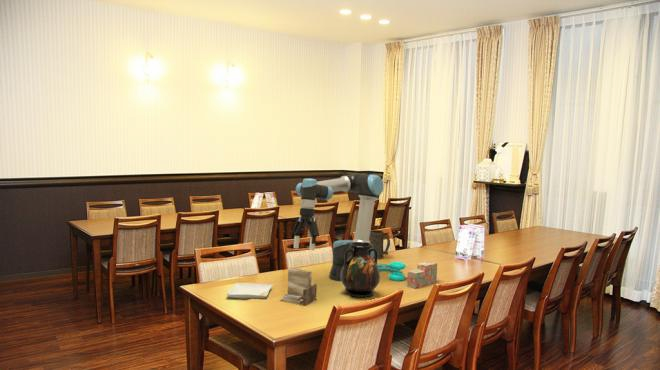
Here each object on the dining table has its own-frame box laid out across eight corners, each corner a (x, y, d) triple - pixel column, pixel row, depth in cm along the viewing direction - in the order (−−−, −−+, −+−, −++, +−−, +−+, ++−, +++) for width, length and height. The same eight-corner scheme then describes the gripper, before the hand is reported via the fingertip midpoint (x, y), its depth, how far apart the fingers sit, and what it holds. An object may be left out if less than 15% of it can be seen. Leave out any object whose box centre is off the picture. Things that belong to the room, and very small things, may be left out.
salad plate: (235, 288, 275) (235, 282, 275) (273, 289, 275) (273, 283, 274) (225, 300, 254) (225, 293, 254) (266, 302, 253) (267, 295, 253)
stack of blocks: (415, 289, 284) (416, 268, 283) (406, 286, 288) (407, 266, 287) (436, 282, 299) (437, 262, 298) (427, 280, 303) (428, 260, 302)
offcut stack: (287, 298, 255) (287, 293, 255) (304, 302, 251) (304, 297, 251) (282, 301, 251) (282, 296, 251) (299, 304, 247) (299, 299, 247)
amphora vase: (346, 301, 257) (348, 248, 255) (334, 289, 277) (336, 240, 275) (385, 299, 263) (387, 247, 261) (370, 287, 284) (372, 239, 281)
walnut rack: (291, 296, 263) (292, 279, 262) (317, 301, 256) (317, 284, 256) (279, 302, 252) (279, 285, 251) (305, 307, 245) (305, 290, 244)
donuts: (403, 265, 297) (387, 263, 300) (402, 282, 297) (386, 280, 301) (407, 262, 306) (391, 260, 309) (406, 278, 307) (390, 276, 310)
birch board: (290, 295, 261) (291, 267, 259) (310, 299, 255) (311, 271, 254) (287, 297, 258) (288, 269, 256) (307, 301, 252) (308, 272, 251)
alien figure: (402, 275, 315) (396, 267, 335) (402, 271, 315) (397, 264, 335) (370, 274, 314) (367, 266, 334) (371, 271, 314) (367, 263, 334)
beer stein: (366, 258, 354) (369, 231, 353) (367, 255, 365) (370, 228, 363) (387, 261, 352) (391, 234, 350) (388, 258, 363) (391, 231, 361)
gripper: (287, 207, 265) (284, 247, 262) (316, 207, 245) (312, 250, 243) (298, 208, 269) (295, 247, 267) (328, 209, 250) (324, 251, 248)
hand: (303, 249), depth 255 cm, fingers open, 13 cm apart
